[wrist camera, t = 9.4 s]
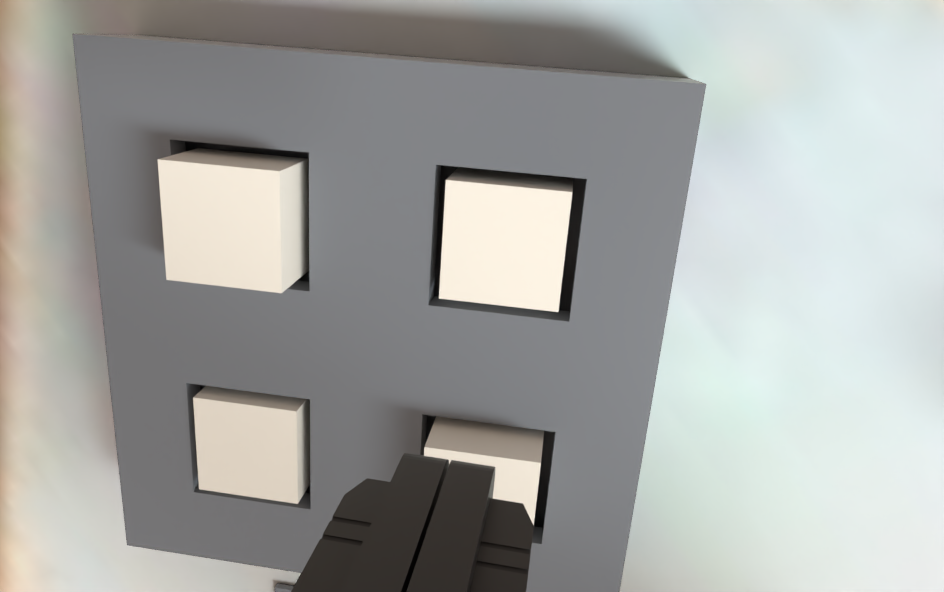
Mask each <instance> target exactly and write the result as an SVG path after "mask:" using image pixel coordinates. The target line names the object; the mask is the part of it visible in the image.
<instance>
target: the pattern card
mask: <svg viewBox="0 0 944 592" xmlns="http://www.w3.org/2000/svg"><path fill="white" fill-rule="evenodd" d="M293 587H294V586H290V585H284V584H278V583H277V585H276V587H275V592H291V591H292V589H293Z"/></svg>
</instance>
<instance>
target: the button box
mask: <svg viewBox="0 0 944 592" xmlns="http://www.w3.org/2000/svg"><path fill="white" fill-rule="evenodd" d="M73 43H74V52H75V61H76V71H77V80H78V89H79V99H80V108H81V118H82V127H83V136H84V146H85V155H86V164H87V174H88V183H89V193H90V202H91V211H92V221H93V230H94V240H95V249H96V258H97V268H98V277H99V286H100V296H101V305H102V315H103V324H104V333H105V343H106V352H107V361H108V371H109V380H110V390H111V399H112V408H113V418H114V427H115V436H116V446H117V455H118V465H119V474H120V483H121V493H122V502H123V511H124V521H125V530H126V540H127V545H130V546H136V547H142V548H148V549H155V550H161V551H167V552H174V553H180V554H186V555H192V556H199V557H205V558H211V559H217V560H224V561H230V562H236V563H242V564H249V565H255V566H261V567H268V568H274V569H280V570H286V571H293V572H299V573H302V571H303V569H304V567H305V566H306V564H307V562H308V560H309V558H310V556H311V555H312V553H313V551H314V549H315V547H316V546H317V544H318V542H319V540H320V539H322V536H323V533H324V531H325V529H326V527H327V525H328V524H329V522H330V521H332V517H333V515H334V513H335V511H336V509H337V507H338V505H339V504H340V502H341V500H342V498H343V496H344V495H345V494H346V493H347V492H349V491H350V490H352V489H353V488H354V487H356V486H357V485H358V484H360V483H361V482H363V481H364V480H365V479H367V478H369V479H375V480H381V481H387V482H390V481H391V479H392V477H393V475H394V473H395V471H396V468H397V466H398V464H399V462H400V460H401V458H402V456H403V454H404V453H410V454H416V455H423V456H424V447H425V444H426V442H427V439H428V436H429V434H430V431H431V429H432V426H433V424H434V421H435V418H436V416H439V417H446V418H454V419H461V420H469V421H476V422H484V423H491V424H499V425H506V426H514V427H522V428H529V429H537V430H544V437H543V447H542V458H541V467H540V476H539V484H538V493H537V501H536V510H535V518H534V529H533V537H532V546H531V554H530V563H529V571H528V580H527V588H526V592H619V590H620V585H621V579H622V573H623V567H624V561H625V555H626V550H627V544H628V538H629V532H630V526H631V520H632V515H633V509H634V503H635V497H636V491H637V485H638V479H639V474H640V468H641V462H642V456H643V450H644V444H645V439H646V433H647V427H648V421H649V415H650V409H651V404H652V398H653V392H654V386H655V380H656V374H657V368H658V363H659V357H660V351H661V345H662V339H663V333H664V328H665V322H666V316H667V310H668V304H669V298H670V293H671V287H672V281H673V275H674V269H675V263H676V258H677V252H678V246H679V240H680V234H681V228H682V222H683V217H684V211H685V205H686V199H687V193H688V187H689V182H690V176H691V170H692V164H693V158H694V152H695V147H696V141H697V135H698V129H699V123H700V117H701V111H702V106H703V100H704V94H705V88H706V84H705V83H702V82H699V81H696V80H693V79H690V78H678V77H665V76H652V75H640V74H627V73H614V72H601V71H589V70H576V69H563V68H551V67H538V66H525V65H513V64H500V63H487V62H475V61H462V60H449V59H436V58H424V57H411V56H398V55H386V54H373V53H360V52H348V51H335V50H322V49H309V48H297V47H284V46H271V45H259V44H246V43H233V42H221V41H208V40H195V39H183V38H170V37H157V36H144V35H121V34H73ZM197 148H202V149H212V150H222V151H233V152H243V153H254V154H264V155H275V156H285V157H296V158H306V159H309V271H308V272H307V273H305V274H304V275H303V276H302V277H301V278H299V279H298V280H297V281H296V282H295V283H293V284H292V285H291V286H290V287H289V288H287V289H286V290H285V291H284V292H283V293H275V292H266V291H258V290H249V289H241V288H232V287H224V286H215V285H207V284H198V283H189V282H181V281H172V280H166V267H165V254H164V240H163V227H162V213H161V200H160V186H159V173H158V159H161V158H164V157H168V156H171V155H175V154H179V153H182V152H186V151H190V150H193V149H197ZM458 167H466V168H476V169H487V170H498V171H508V172H519V173H529V174H540V175H550V176H561V177H571V178H573V192H572V201H571V209H570V218H569V226H568V235H567V243H566V252H565V260H564V269H563V277H562V286H561V294H560V303H559V311H558V312H552V311H544V310H535V309H526V308H517V307H509V306H500V305H491V304H483V303H474V302H465V301H457V300H448V299H439V287H440V270H441V253H442V236H443V219H444V202H445V185H446V179H447V178H448V177H449V176H450V175H451V174H452V173H453V172H454V171H455V170H456V169H457V168H458ZM205 386H213V387H220V388H228V389H235V390H243V391H250V392H258V393H265V394H273V395H280V396H288V397H295V398H303V399H310V485H309V487H308V488H307V490H306V491H305V493H304V495H303V496H302V498H301V500H300V501H299V503H298V504H295V503H288V502H281V501H275V500H268V499H261V498H254V497H248V496H241V495H234V494H228V493H221V492H214V491H207V490H201V489H199V482H198V467H197V451H196V436H195V420H194V405H193V397H194V396H195V395H196V394H197V393H199V392H200V391H201V390H202V389H203V388H204V387H205Z"/></svg>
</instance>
